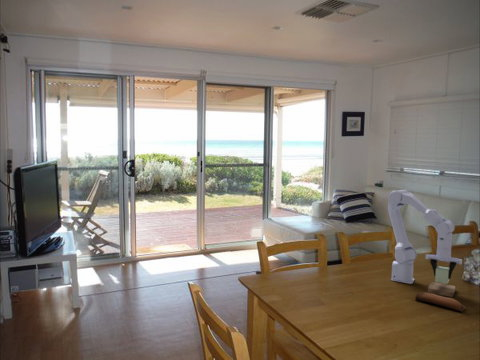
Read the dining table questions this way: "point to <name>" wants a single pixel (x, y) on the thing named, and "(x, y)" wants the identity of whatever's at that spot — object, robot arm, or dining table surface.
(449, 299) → the sunglasses case
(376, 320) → the dining table surface
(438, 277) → the green block
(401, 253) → the robot arm
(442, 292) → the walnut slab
